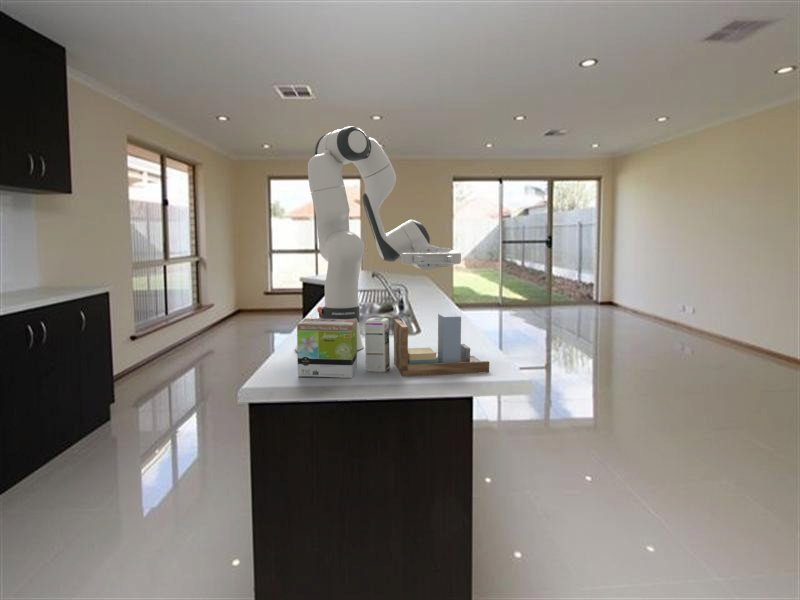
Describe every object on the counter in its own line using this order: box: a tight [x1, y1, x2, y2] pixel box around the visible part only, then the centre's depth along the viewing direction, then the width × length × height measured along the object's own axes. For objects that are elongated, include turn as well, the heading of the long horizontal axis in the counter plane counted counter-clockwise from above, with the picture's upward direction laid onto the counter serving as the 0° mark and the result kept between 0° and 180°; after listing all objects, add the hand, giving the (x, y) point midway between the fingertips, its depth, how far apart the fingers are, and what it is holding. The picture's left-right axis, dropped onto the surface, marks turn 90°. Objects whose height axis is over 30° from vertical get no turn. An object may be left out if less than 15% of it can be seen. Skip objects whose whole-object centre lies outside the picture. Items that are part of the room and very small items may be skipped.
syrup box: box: [364, 317, 391, 373], centre depth 151 cm, size 6×6×14 cm
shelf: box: [393, 318, 490, 377], centre depth 152 cm, size 14×24×14 cm, turn 100°
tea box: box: [296, 317, 358, 379], centre depth 147 cm, size 15×10×15 cm
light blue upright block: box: [437, 312, 462, 363], centre depth 151 cm, size 5×6×14 cm
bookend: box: [461, 343, 481, 362], centre depth 153 cm, size 6×5×5 cm
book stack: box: [408, 347, 438, 364], centre depth 152 cm, size 8×8×4 cm
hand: (436, 259), depth 173 cm, fingers open, 8 cm apart
